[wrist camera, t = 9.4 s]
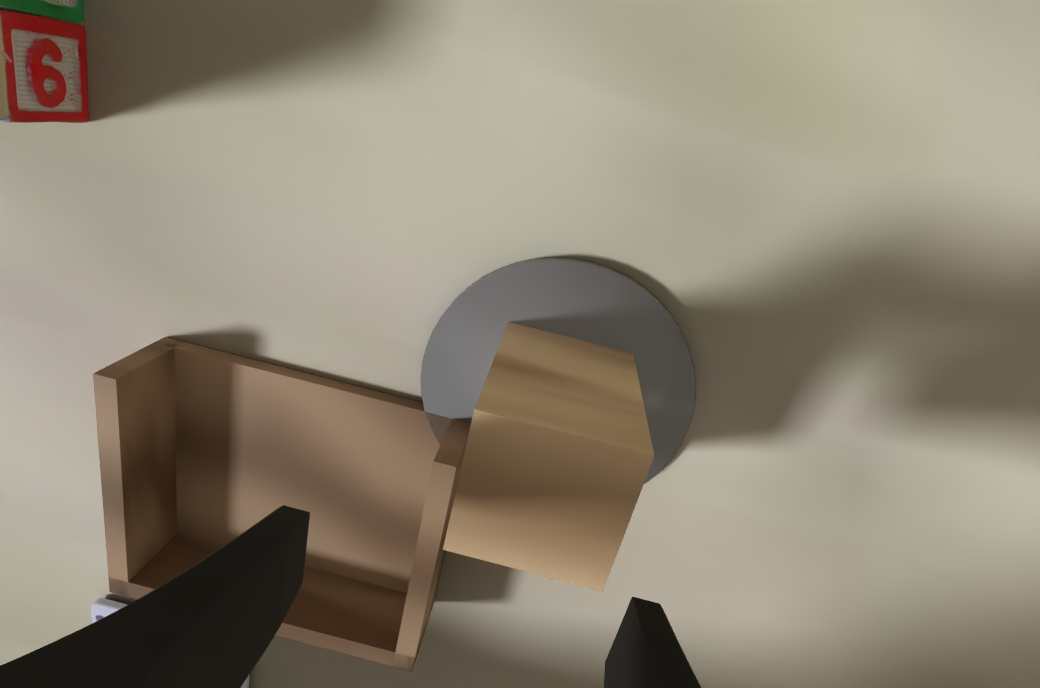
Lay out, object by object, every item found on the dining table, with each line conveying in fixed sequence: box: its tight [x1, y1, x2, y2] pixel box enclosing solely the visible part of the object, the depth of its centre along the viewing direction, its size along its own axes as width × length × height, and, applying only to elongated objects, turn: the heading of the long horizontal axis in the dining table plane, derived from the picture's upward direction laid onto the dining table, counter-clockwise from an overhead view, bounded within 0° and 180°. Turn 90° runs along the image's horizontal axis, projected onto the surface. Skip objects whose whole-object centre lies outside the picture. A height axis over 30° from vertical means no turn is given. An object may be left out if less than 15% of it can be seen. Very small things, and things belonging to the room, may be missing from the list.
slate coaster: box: [421, 257, 696, 484], centre depth 21 cm, size 10×10×1 cm
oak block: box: [443, 322, 654, 591], centre depth 17 cm, size 4×4×6 cm
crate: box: [93, 337, 471, 671], centre depth 22 cm, size 10×13×4 cm
